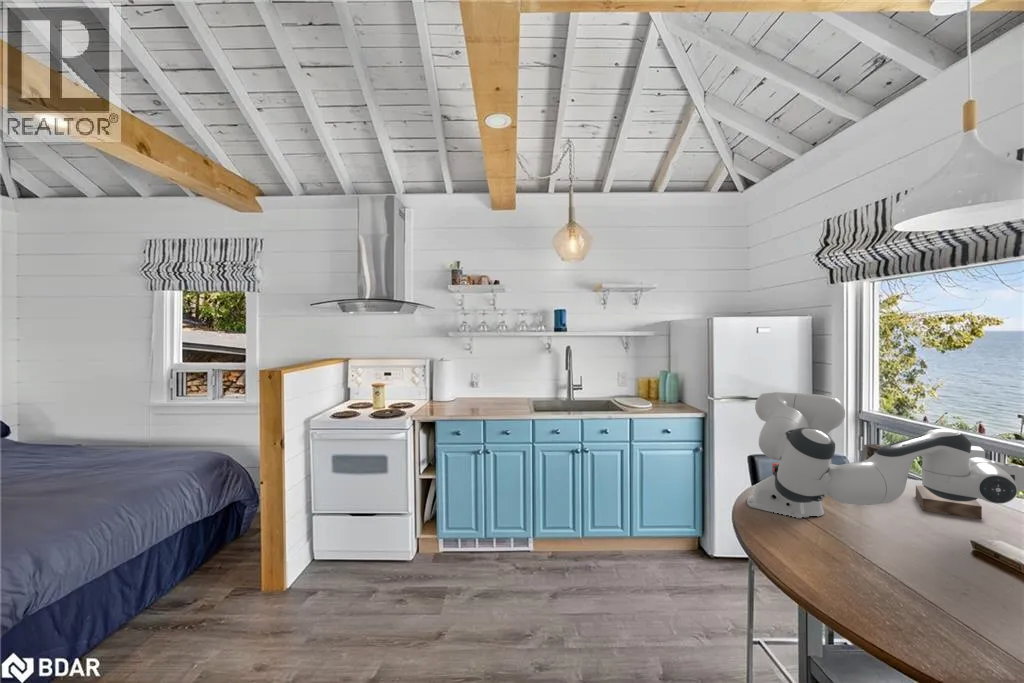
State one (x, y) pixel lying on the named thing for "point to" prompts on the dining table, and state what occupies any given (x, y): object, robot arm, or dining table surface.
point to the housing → (977, 452)
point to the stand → (947, 504)
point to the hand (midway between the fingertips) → (969, 462)
